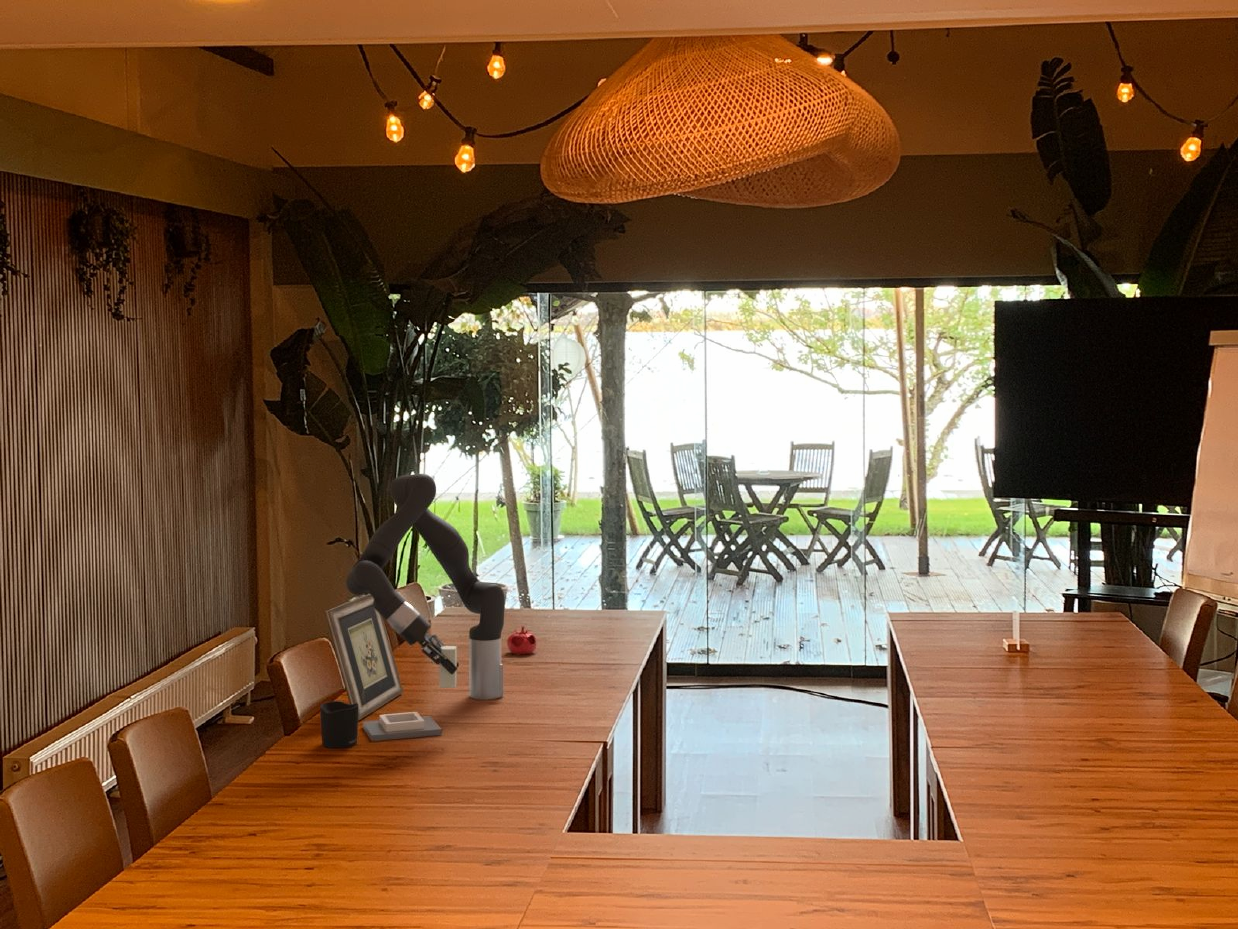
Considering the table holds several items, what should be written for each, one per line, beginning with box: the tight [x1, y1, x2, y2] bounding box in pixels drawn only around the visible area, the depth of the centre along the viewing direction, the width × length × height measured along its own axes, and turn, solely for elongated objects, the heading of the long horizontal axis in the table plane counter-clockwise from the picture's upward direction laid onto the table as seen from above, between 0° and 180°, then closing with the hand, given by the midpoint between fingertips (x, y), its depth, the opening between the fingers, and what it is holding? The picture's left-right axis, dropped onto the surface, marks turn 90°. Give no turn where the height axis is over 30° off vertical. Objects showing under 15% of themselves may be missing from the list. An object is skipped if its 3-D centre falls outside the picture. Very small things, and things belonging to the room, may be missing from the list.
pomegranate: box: [506, 625, 537, 656], centre depth 429 cm, size 10×10×9 cm
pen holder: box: [319, 700, 359, 750], centre depth 317 cm, size 9×9×10 cm
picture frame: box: [324, 593, 404, 722], centre depth 355 cm, size 33×10×30 cm, turn 168°
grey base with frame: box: [362, 711, 443, 742], centre depth 330 cm, size 18×14×4 cm
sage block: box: [438, 645, 458, 689], centre depth 326 cm, size 4×4×10 cm
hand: (455, 669), depth 326 cm, fingers closed on sage block, 4 cm apart
